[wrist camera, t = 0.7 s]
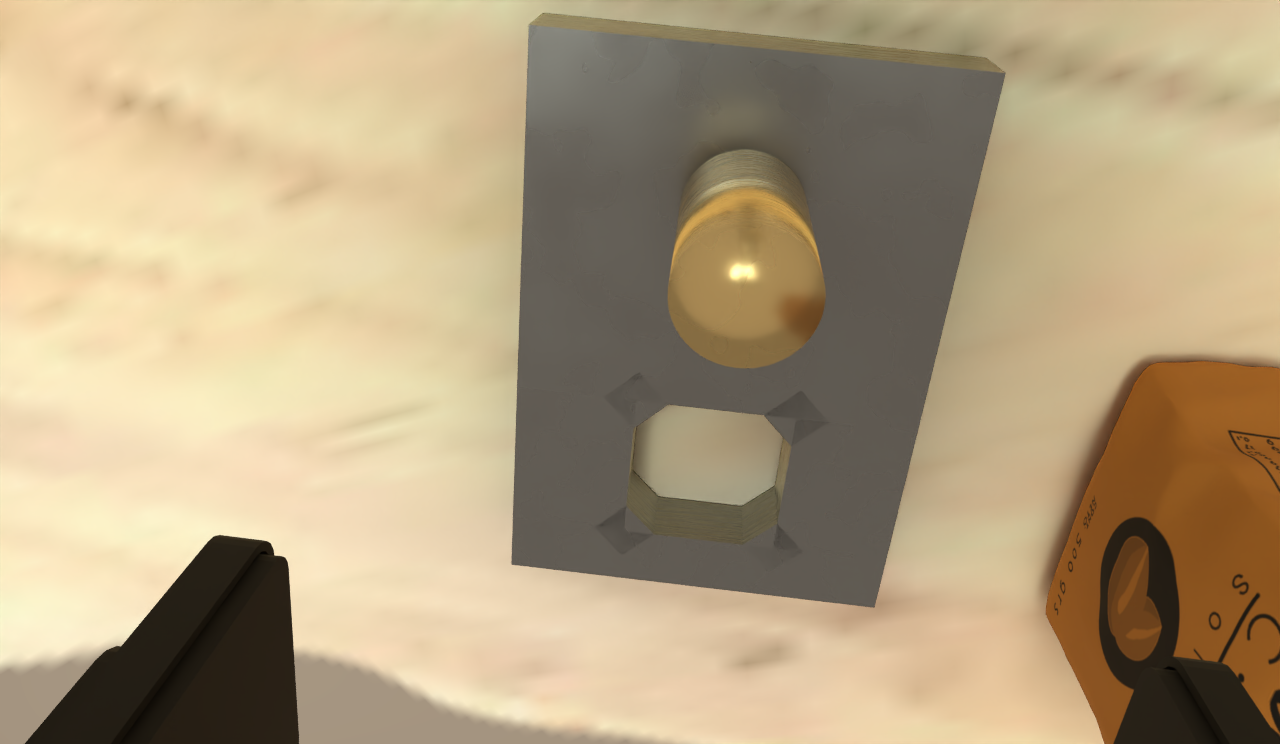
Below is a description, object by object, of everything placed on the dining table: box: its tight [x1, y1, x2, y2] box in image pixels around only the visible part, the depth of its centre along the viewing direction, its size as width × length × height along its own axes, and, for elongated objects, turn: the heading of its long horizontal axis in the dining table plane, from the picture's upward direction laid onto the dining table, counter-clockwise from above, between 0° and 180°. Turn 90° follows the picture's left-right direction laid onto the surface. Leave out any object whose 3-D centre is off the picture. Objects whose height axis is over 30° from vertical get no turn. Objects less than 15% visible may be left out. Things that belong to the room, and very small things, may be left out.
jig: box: [512, 13, 1005, 607], centre depth 35 cm, size 20×14×2 cm
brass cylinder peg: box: [667, 149, 826, 368], centre depth 29 cm, size 4×4×7 cm
